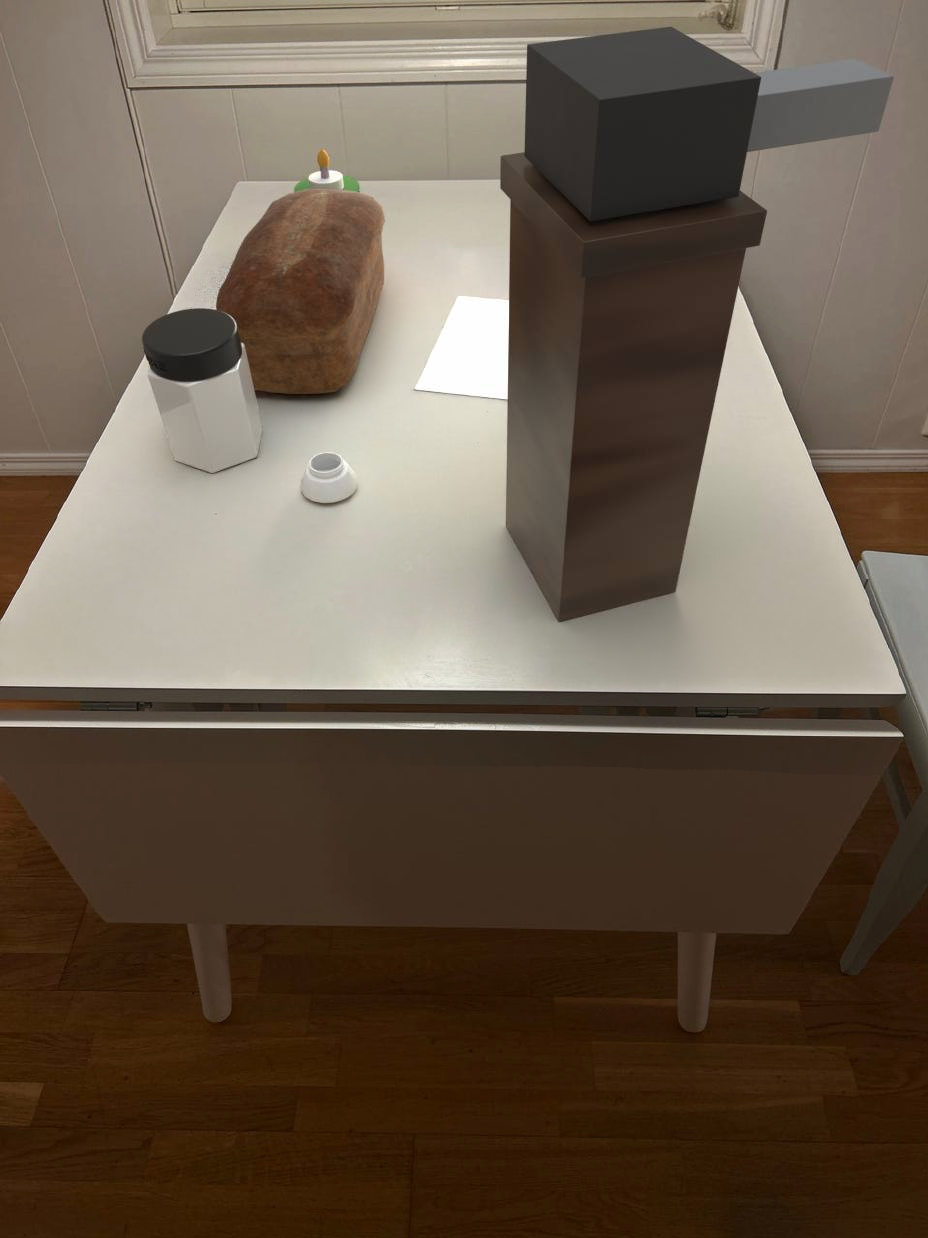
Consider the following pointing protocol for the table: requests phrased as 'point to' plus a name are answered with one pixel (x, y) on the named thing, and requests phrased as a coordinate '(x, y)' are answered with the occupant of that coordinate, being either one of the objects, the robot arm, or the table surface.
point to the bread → (307, 289)
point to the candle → (327, 178)
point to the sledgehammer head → (676, 117)
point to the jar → (203, 388)
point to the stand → (612, 383)
